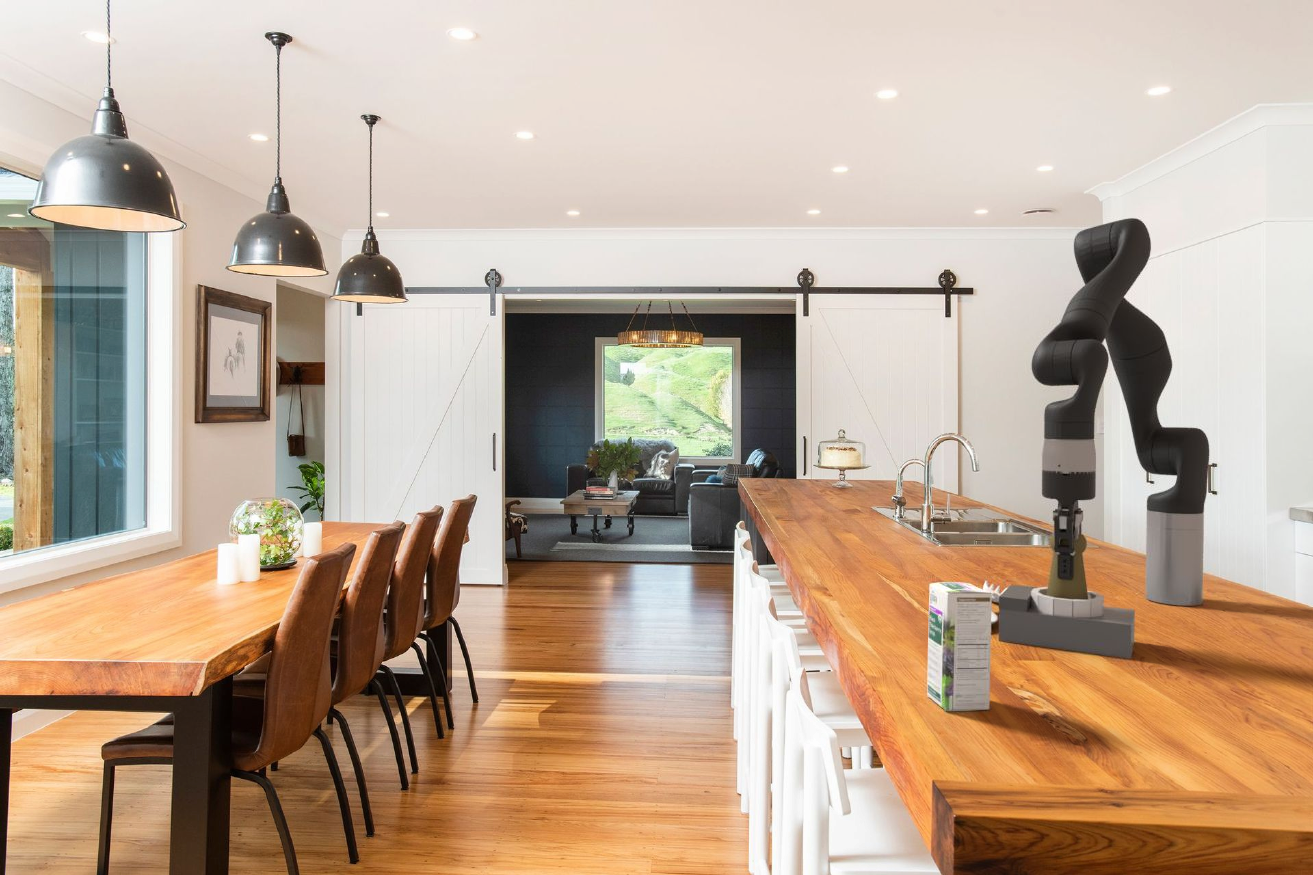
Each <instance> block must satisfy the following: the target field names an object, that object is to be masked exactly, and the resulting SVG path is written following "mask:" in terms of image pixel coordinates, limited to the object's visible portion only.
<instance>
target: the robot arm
mask: <svg viewBox="0 0 1313 875" xmlns="http://www.w3.org/2000/svg"><path fill="white" fill-rule="evenodd" d="M1151 252H1152V242H1151V236H1150V232H1149V230H1148V228H1147V226H1146V224H1145V223H1144V222H1143V221H1142V220H1141V219H1139V218H1136V217H1135V218H1133V217H1129V218H1124V219H1119V220H1116V221H1112V222H1107V223H1104V224H1099V225H1096V226H1091V227H1089V228H1088V227H1087V228H1085V229H1083V230H1080V231H1079V232H1077V233H1076V234H1075V237H1074V240H1073V254H1074V259H1075V261H1076V265H1077V268H1078V270H1079V271H1078V272H1080V273H1079V274H1080V276H1081V278H1082V281H1083V283H1084V285H1083V286H1082V287H1081V288H1080V289H1079V290H1078V291H1077V292H1076V293H1075V294H1074V296H1072V297H1071V300H1069V303H1068V304H1067V306H1066V308H1065V311H1064V314H1063V315H1062V318H1061V319H1060V322H1059V323H1058V324H1057V325H1055V327H1054V328H1053V329H1052V330H1051V331H1050V332H1049V333H1048V334H1046V336H1045V337H1044V338H1043V339H1042V340H1041V341H1040V343H1039V344H1038V345H1037V346H1036V349H1035V351H1034V352H1033V355H1032V359H1031V372H1032V375H1033V376H1034V378H1035V380H1037V382H1038V383H1040V384H1041V385H1044V386H1048V387H1056V386H1057V387H1058V386H1059V387H1060V386H1061V387H1063V386H1078V387H1077V389H1076V391H1075V393H1074V394H1073V396H1072V397H1070V398H1067V399H1061V400H1057V401H1052V402H1050V403H1048V404H1046V406H1045V409H1044V414H1043V422H1044V423H1043V424H1044V426H1043V427H1044V428H1043V430H1044V432H1043V434H1044V435H1043V437H1044V438H1043V445H1042V446H1043V447H1042V453H1041V454H1042V455H1041V496H1042V497H1043V498H1045V499H1050V500H1056V501H1057V508H1055V510H1052V521H1053V533H1054V535H1053V536H1054V538H1055V547H1054V550H1055V552H1056V554H1057V555H1058V566H1057V577H1058V578H1059V579H1061V580H1072V579H1073V578H1074V554H1075V542H1076V541H1078V540H1079V533H1081V534H1082V535H1083V521H1084V510H1082V508H1081V507H1079V501H1090V500H1094V499H1095V498H1096V494H1097V493H1096V491H1097V490H1096V488H1097V487H1096V480H1097V476H1096V474H1097V466H1096V465H1097V453H1096V445H1095V420H1096V419H1095V416H1096V415H1095V414H1096V409H1097V404H1098V400H1099V396H1100V391H1101V388H1102V386H1103V383H1104V380H1105V377H1106V375H1107V371H1108V367H1109V363H1110V362H1109V361H1110V360H1111V363H1112V366H1113V370H1114V372H1115V375H1116V378H1117V380H1118V383H1119V387H1120V389H1121V393H1122V396H1123V399H1124V403H1125V406H1126V409H1127V414H1128V419H1129V423H1130V428H1131V432H1132V438H1133V443H1134V447H1135V452H1136V456H1137V459H1138V461H1139V464H1140V466H1141V468H1142V469H1143V470H1144V472H1147V473H1148V474H1153V475H1160V476H1176V480H1175V483H1174V485H1173V486H1172V487H1169V488H1168V489H1166V490H1164V491H1160V492H1156V493H1153V494H1152V493H1151V494H1150V495H1148V496H1147V499H1146V538H1145V539H1146V540H1145V541H1146V542H1145V543H1146V544H1145V547H1146V548H1145V553H1146V554H1145V599H1146V600H1148V601H1152V602H1155V603H1159V604H1165V605H1173V606H1187V607H1190V606H1200V605H1202V604H1203V595H1204V594H1203V584H1204V541H1205V540H1204V539H1205V538H1204V537H1205V536H1204V535H1205V534H1204V532H1205V531H1204V529H1205V528H1204V527H1205V524H1204V523H1205V504H1206V503H1205V502H1206V498H1207V492H1208V474H1209V464H1210V463H1209V462H1210V442H1209V439H1208V438H1209V437H1207V434H1206V433H1205V432H1204V430H1202V429H1200V428H1198V427H1185V426H1184V427H1182V426H1180V427H1179V426H1178V427H1176V426H1175V427H1174V426H1173V427H1172V426H1171V427H1170V426H1166V427H1165V426H1162V424H1161V422H1160V420H1159V419H1160V418H1159V415H1158V403H1159V400H1160V397H1161V395H1162V393H1163V391H1164V389H1165V387H1167V386H1166V385H1167V383H1168V381H1169V378H1170V376H1171V373H1172V371H1173V370H1172V369H1173V360H1172V356H1171V352H1170V348H1169V345H1168V343H1167V338H1166V335H1165V333H1164V331H1163V330H1162V328H1161V327H1160V326H1159V325H1158V324H1157V323H1156V322H1155V321H1154V320H1153V319H1152V318H1151V317H1150V316H1148V315H1147V314H1145V313H1144V312H1143V311H1141V310H1140V309H1138V308H1137V307H1136V306H1135V305H1133V304H1132V303H1131V302H1130V301H1129V300H1127V298H1125V296H1126V295H1127V293H1128V292H1129V290H1130V289H1131V288H1132V286H1133V285H1134V284H1135V282H1136V281H1137V279H1138V278H1139V276H1140V275H1141V273H1142V272H1143V270H1144V269H1145V267H1146V265H1147V264H1148V261H1149V260H1150V256H1151ZM1104 341H1105V343H1106V346H1107V348H1106V347H1105V345H1104V344H1103V343H1104ZM1109 357H1110V360H1109ZM1061 540H1069V545H1061Z"/></svg>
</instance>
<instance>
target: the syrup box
mask: <svg viewBox="0 0 1313 875" xmlns="http://www.w3.org/2000/svg"><path fill="white" fill-rule="evenodd" d="M928 586H929V590H928V593H929V599H928V602H929V603H928V633H927V634H928V635H927V638H928V639H927V641H928V642H927V672H926V673H927V676H926V677H927V680H926V682H927V684H926V686H927V687H926V688H927V690H926V692H927V693H926V696H927V698H929V699H931V700H932V701H933V702H935V704H937V705H938V706H939V707H941V708H942V709H943V710H944V711H945V712H967V711H969V712H971V711H987V710H990V701H991V700H990V697H991V694H990V693H991V653H992V651H991V650H992V649H991V648H992V647H991V645H992V624H991V610H992V603H993V601H992V594H991V593H992V592H987V591H985V590H983V588H980V587H977V586H976V585H973V584H972V583H968V582H959V581H957V582H956V581H944V582H943V581H941V582H934V583H932V582H931V583H929V585H928Z"/></svg>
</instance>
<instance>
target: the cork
mask: <svg viewBox="0 0 1313 875" xmlns="http://www.w3.org/2000/svg"><path fill="white" fill-rule="evenodd" d="M1053 535H1054V532H1053V533H1052V534H1050V537H1049V547H1050V549H1051V551H1052V557H1051V558H1052V559H1051V564H1050V565H1051V566H1050V571H1049V579H1048V583H1047V587H1048V589H1047V595H1046V596H1051V597H1055V598H1064V599H1083V600H1086V599H1088V592H1087V591H1088V587H1087V586H1088V585H1087V579H1086V571H1085V564H1084V563H1085V562H1084V556H1083V553H1084V552H1086V550H1087V538H1086V536H1085V535H1084V534H1083V533H1082V534H1081V533H1079V540H1078V541H1076V542H1075V554H1074V578H1073V579H1072V580H1061V579H1059V578H1058V577H1057V566H1058V555H1057V554H1056V552H1055V550H1054V547H1055V538H1054V536H1053ZM1061 545H1069V540H1061Z"/></svg>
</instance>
